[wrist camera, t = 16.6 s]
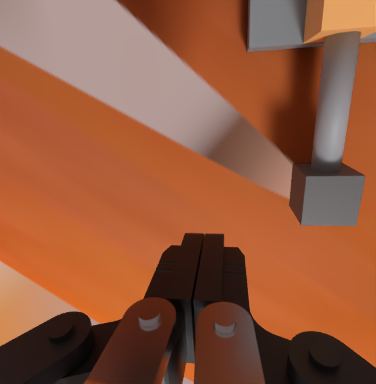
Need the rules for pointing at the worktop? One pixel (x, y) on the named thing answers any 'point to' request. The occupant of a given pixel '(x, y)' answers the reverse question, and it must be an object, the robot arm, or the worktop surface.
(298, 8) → the vise
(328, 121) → the vise jaw
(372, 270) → the worktop surface
